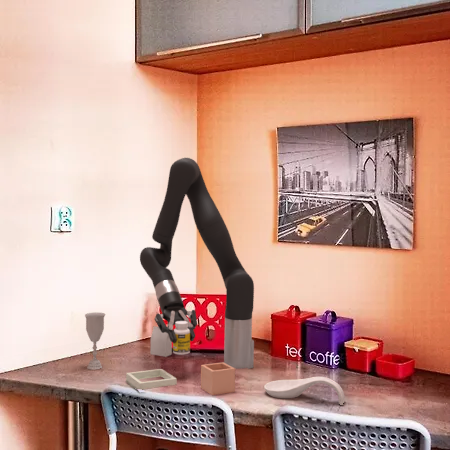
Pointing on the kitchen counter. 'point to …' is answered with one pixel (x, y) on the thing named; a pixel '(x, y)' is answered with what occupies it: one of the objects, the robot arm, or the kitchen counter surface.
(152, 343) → the tea bag
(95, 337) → the chalice
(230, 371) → the tan open box
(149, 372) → the tray
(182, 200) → the robot arm
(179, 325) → the supplement bottle
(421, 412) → the kitchen counter surface
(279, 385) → the spoon rest
